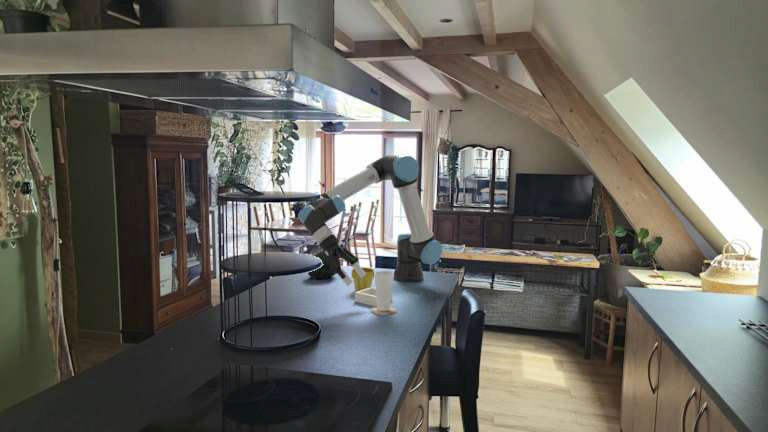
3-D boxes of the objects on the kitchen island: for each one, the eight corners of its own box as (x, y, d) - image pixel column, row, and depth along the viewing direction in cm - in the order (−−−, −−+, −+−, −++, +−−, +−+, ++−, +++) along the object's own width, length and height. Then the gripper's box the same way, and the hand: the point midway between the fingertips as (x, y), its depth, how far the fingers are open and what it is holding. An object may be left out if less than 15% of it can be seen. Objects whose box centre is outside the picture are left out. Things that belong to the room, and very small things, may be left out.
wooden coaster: (381, 306, 208) (381, 304, 208) (401, 310, 202) (401, 309, 202) (366, 311, 200) (366, 310, 200) (386, 316, 194) (386, 315, 194)
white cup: (378, 312, 197) (378, 275, 195) (372, 308, 203) (373, 271, 201) (394, 311, 199) (394, 274, 197) (388, 306, 205) (389, 270, 203)
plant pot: (373, 294, 226) (373, 272, 225) (350, 293, 226) (350, 272, 225) (374, 288, 236) (374, 267, 235) (352, 287, 237) (352, 267, 235)
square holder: (371, 295, 223) (371, 286, 222) (392, 300, 216) (392, 291, 216) (354, 301, 214) (354, 292, 213) (376, 306, 207) (376, 296, 207)
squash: (299, 265, 258) (310, 246, 250) (325, 263, 268) (335, 244, 259) (309, 287, 251) (320, 269, 242) (335, 284, 260) (346, 266, 251)
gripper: (333, 239, 220) (362, 278, 218) (304, 249, 197) (337, 293, 194) (344, 229, 218) (374, 268, 215) (317, 238, 195) (350, 282, 192)
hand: (357, 280), depth 205 cm, fingers open, 13 cm apart
